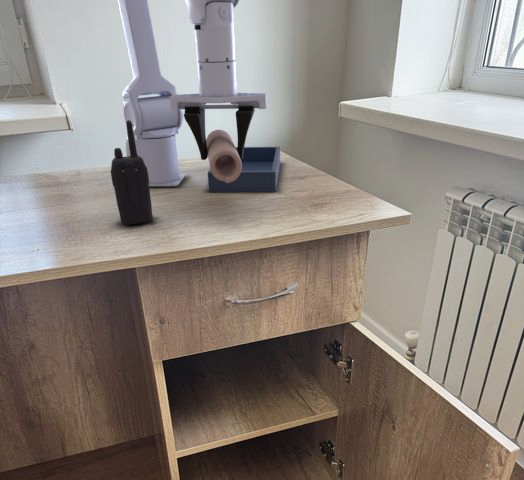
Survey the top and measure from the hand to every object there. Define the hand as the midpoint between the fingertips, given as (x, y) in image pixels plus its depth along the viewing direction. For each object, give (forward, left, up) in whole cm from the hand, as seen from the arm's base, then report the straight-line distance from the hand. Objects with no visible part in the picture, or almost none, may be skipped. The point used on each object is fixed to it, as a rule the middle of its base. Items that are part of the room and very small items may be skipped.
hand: (222, 158), depth 80 cm
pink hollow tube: (0, 0, -2) cm, 2 cm away
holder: (+2, +22, -8) cm, 23 cm away
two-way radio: (-13, -7, -9) cm, 17 cm away
